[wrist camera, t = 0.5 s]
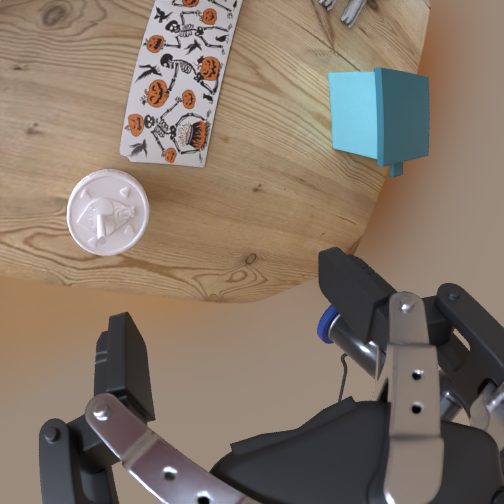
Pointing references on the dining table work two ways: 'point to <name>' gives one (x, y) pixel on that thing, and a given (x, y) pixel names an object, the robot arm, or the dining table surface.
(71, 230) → the smoothie
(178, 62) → the halloween decorative sign
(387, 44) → the dining table surface
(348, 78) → the storage box
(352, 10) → the turret
